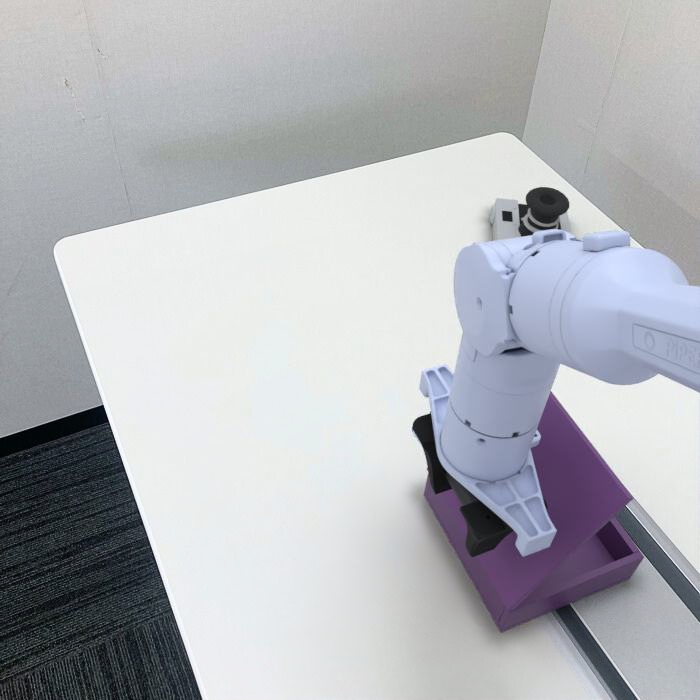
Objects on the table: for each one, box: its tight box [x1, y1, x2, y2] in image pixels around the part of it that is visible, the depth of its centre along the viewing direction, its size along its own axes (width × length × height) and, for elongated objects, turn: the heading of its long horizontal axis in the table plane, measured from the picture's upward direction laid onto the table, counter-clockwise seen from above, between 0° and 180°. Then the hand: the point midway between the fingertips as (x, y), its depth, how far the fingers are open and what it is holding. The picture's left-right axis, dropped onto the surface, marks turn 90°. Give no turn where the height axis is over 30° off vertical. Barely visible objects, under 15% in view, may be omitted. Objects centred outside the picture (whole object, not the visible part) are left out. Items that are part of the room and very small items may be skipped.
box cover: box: [426, 390, 634, 611], centre depth 54 cm, size 13×13×4 cm
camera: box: [489, 186, 572, 241], centre depth 87 cm, size 15×7×10 cm
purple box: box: [423, 471, 645, 633], centre depth 62 cm, size 12×13×4 cm
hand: (462, 517), depth 56 cm, fingers closed on box cover, 5 cm apart
